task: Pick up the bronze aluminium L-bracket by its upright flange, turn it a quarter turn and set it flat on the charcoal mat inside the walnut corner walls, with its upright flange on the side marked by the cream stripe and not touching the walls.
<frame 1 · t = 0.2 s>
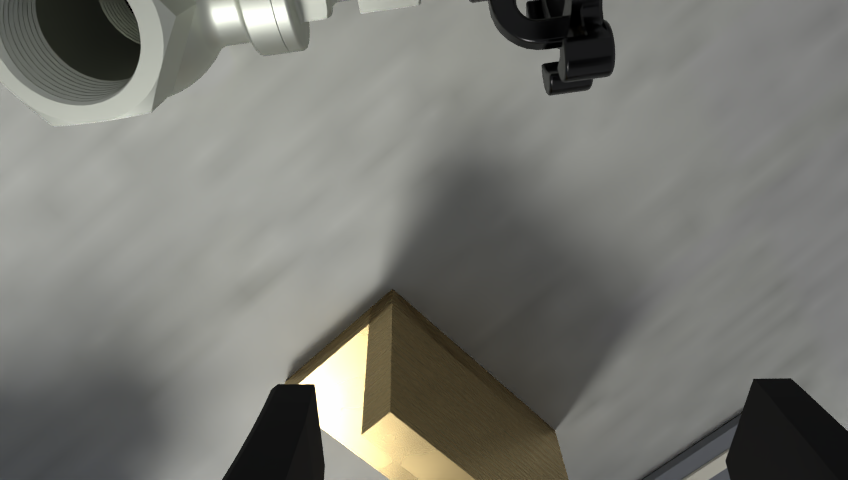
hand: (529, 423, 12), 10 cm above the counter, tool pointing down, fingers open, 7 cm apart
bronze bracket: (423, 404, 25), on the counter
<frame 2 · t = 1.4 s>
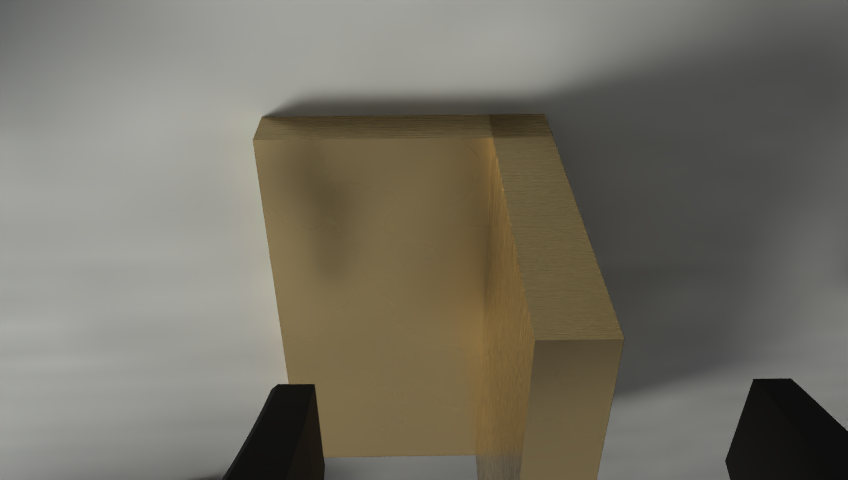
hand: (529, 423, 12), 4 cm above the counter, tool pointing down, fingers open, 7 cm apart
bronze bracket: (407, 290, 15), on the counter
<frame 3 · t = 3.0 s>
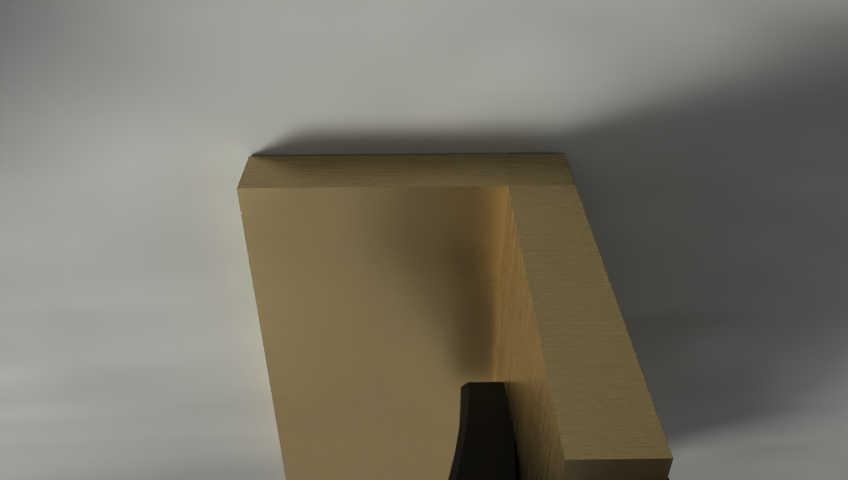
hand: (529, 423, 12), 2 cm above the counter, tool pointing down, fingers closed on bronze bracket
bronze bracket: (410, 342, 14), on the counter, touching gripper
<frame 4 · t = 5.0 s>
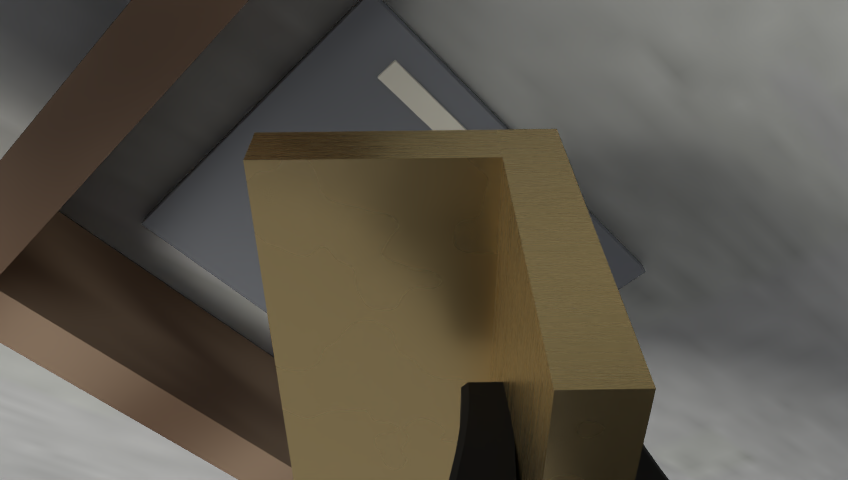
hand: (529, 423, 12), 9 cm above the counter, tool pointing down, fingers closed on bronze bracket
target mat: (400, 242, 21), on the counter
corner walls: (336, 210, 20), on the counter
bronze bracket: (410, 318, 14), point 6 cm above the counter, touching gripper
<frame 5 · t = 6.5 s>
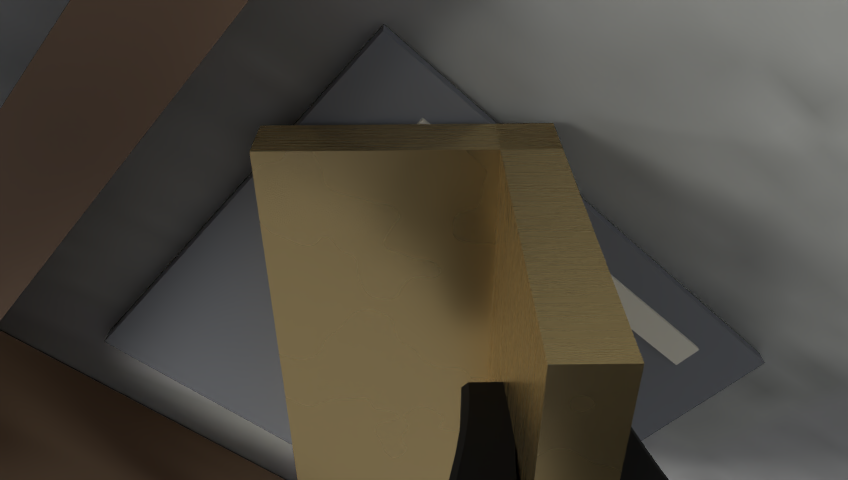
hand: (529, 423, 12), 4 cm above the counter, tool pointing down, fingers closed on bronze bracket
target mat: (440, 343, 16), on the counter
corner walls: (354, 309, 16), on the counter
bronze bracket: (410, 308, 15), point 1 cm above the counter, touching gripper
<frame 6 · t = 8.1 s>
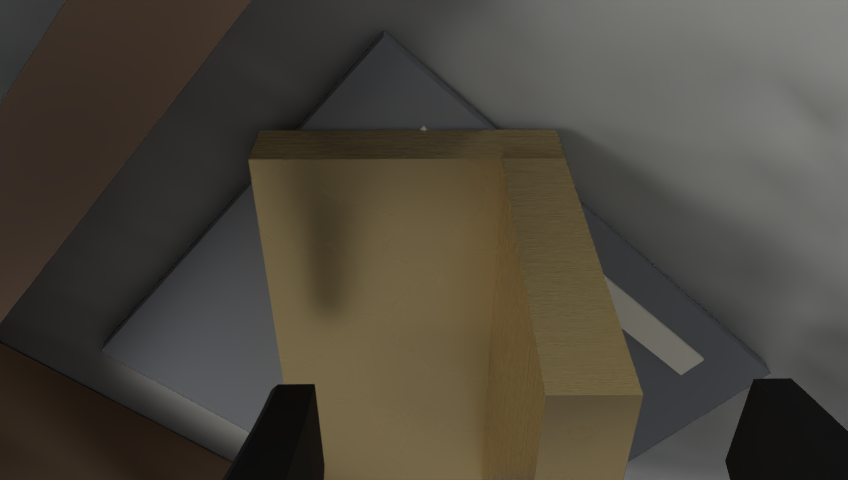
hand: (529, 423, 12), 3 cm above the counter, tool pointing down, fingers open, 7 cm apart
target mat: (441, 352, 16), on the counter
corner walls: (354, 318, 15), on the counter
bronze bracket: (411, 311, 15), resting on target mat
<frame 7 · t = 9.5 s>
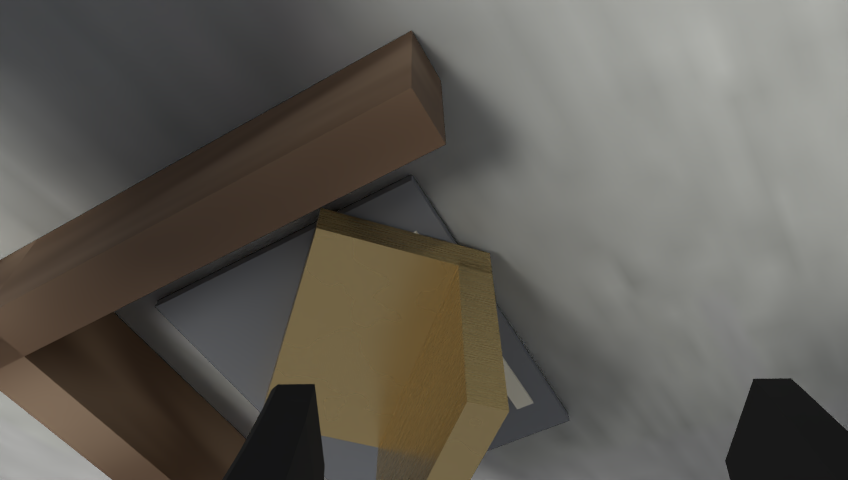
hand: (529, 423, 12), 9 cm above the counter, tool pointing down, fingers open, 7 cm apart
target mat: (375, 360, 24), on the counter
corner walls: (329, 326, 24), on the counter
bronze bracket: (368, 331, 23), resting on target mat
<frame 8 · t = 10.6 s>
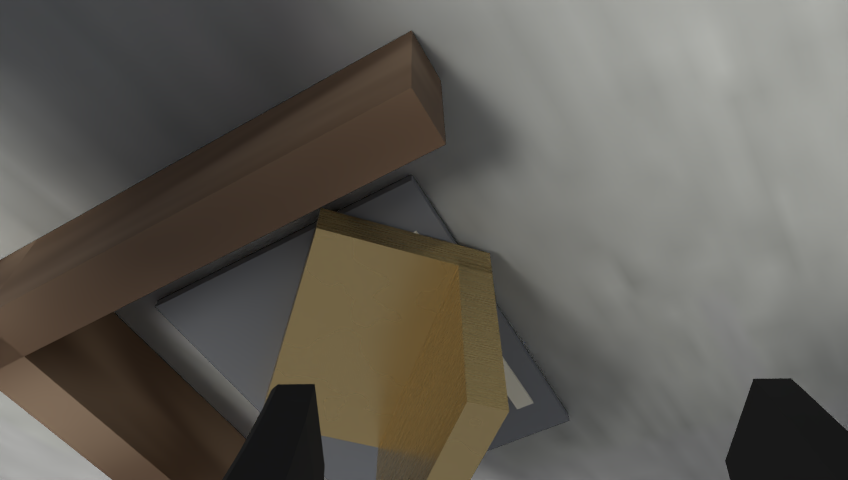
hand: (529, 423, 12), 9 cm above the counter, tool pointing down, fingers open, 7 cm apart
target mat: (375, 360, 24), on the counter
corner walls: (329, 326, 24), on the counter
bronze bracket: (368, 331, 23), resting on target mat
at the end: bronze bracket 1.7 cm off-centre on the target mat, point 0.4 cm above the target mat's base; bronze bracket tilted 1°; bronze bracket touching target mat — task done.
